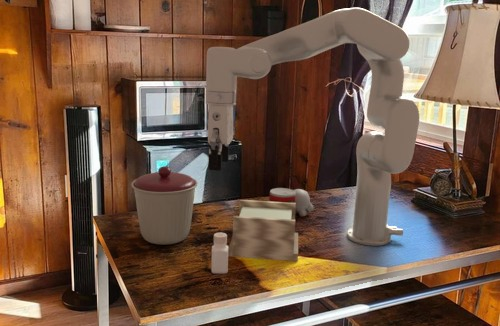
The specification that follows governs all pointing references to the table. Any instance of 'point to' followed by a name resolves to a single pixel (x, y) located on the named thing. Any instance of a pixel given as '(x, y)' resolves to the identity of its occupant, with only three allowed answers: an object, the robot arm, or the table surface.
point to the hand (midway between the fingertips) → (218, 165)
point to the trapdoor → (266, 212)
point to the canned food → (282, 195)
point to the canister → (164, 205)
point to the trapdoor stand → (264, 234)
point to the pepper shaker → (220, 254)
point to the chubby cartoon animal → (302, 202)
